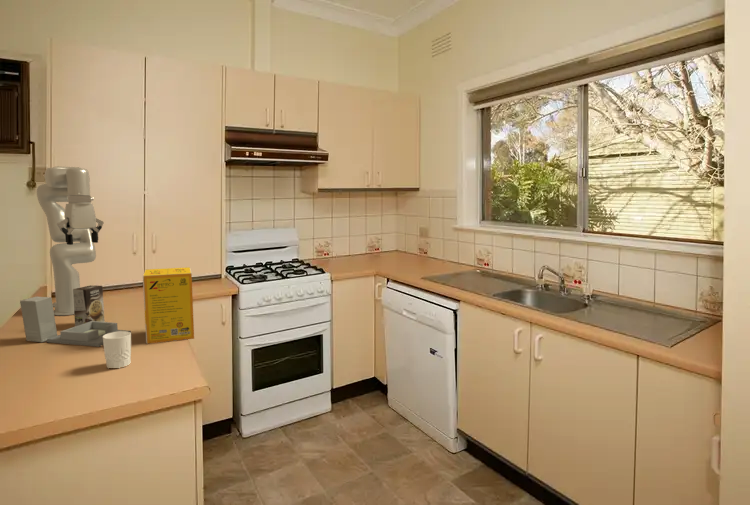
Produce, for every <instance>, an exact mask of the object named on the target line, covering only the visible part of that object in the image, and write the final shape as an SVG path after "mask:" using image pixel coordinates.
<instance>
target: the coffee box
mask: <svg viewBox="0 0 750 505" xmlns="http://www.w3.org/2000/svg"><path fill="white" fill-rule="evenodd" d="M73 299H74V314H73V316H74V327H75V326H78V325H81V324H84V323H87V322H90V321H98V322H106V321H105V308H104V289H103V285H86V286H80V288H76V289H73Z"/></svg>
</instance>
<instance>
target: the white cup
mask: <svg viewBox="0 0 750 505" xmlns="http://www.w3.org/2000/svg"><path fill="white" fill-rule="evenodd" d="M127 331H128V330H127ZM127 331H119V332H112V333H108V334H105V335H104V336H103V345H102V346H103V352H104V359H105V363H106V368H107V369H109V368H119V369H121V368H120V367H124V366H127V365H129V364H130V363H131V358H132V357H131V355H132V332H131V333H130V332H127ZM130 365H131V364H130ZM130 365H129V366H130ZM127 367H128V366H127ZM124 368H125V367H124Z"/></svg>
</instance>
